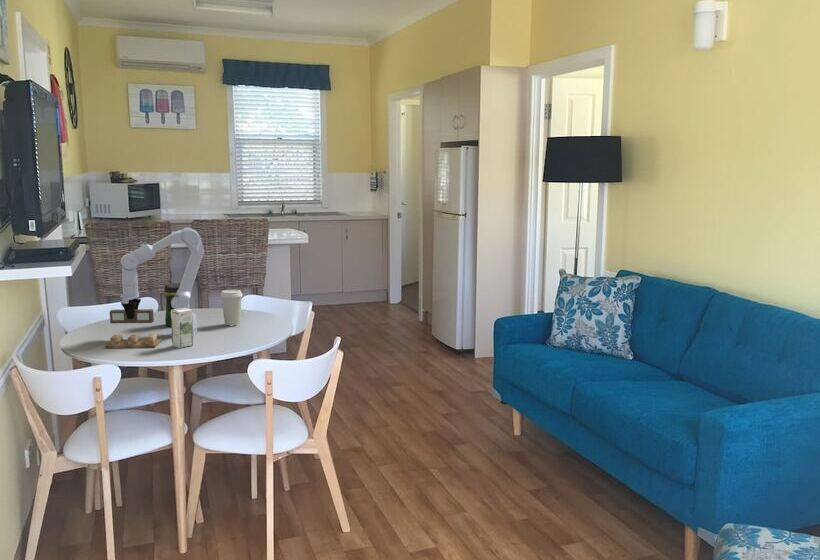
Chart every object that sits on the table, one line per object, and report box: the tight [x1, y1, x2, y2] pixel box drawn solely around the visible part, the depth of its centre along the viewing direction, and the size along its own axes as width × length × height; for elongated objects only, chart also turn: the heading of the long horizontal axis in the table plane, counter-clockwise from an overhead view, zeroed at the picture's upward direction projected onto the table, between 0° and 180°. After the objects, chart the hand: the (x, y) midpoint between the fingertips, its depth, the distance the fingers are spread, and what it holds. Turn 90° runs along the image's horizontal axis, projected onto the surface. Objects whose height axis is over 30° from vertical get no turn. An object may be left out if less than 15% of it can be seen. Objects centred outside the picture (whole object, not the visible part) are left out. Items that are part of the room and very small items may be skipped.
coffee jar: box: [163, 282, 181, 327], centre depth 299 cm, size 10×8×19 cm
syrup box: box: [170, 308, 194, 349], centre depth 263 cm, size 6×6×14 cm
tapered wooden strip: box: [109, 308, 155, 324], centre depth 274 cm, size 16×3×5 cm, turn 95°
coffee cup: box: [219, 289, 244, 326], centre depth 301 cm, size 10×10×15 cm
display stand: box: [105, 333, 162, 349], centre depth 265 cm, size 18×10×4 cm, turn 95°
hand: (132, 318), depth 274 cm, fingers closed on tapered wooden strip, 3 cm apart
